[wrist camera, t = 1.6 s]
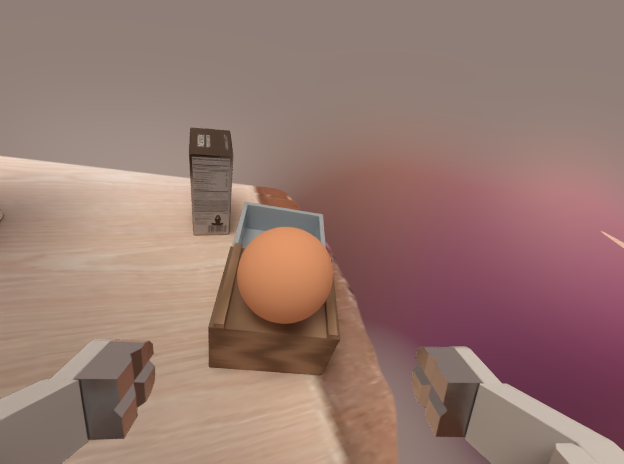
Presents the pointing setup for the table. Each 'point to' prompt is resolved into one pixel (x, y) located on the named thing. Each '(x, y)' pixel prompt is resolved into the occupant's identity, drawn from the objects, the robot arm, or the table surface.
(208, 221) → the coffee box
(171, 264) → the table surface
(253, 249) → the ball
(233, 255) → the brown wooden grooved block
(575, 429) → the robot arm
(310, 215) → the pale blue storage tray
